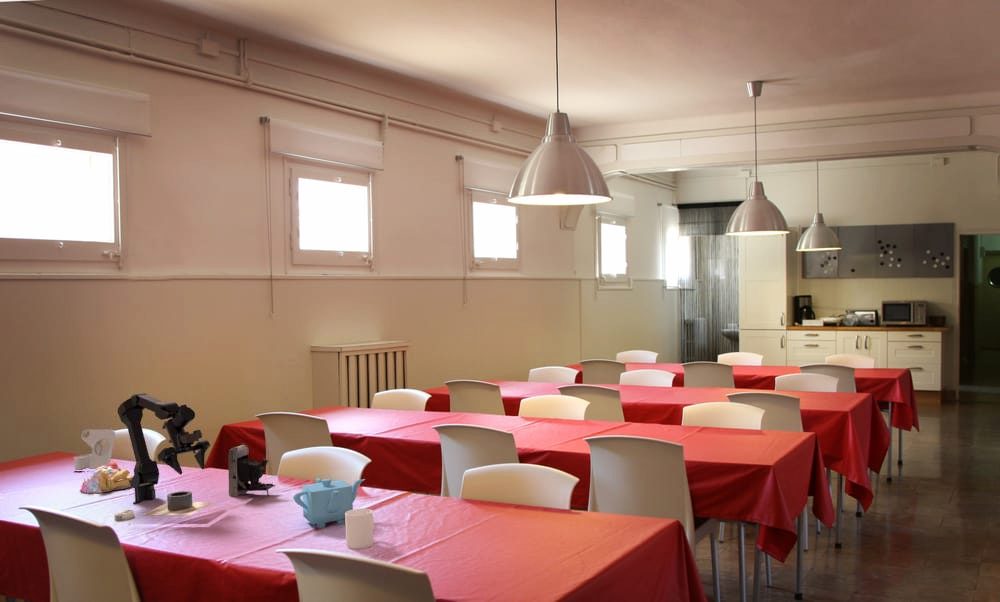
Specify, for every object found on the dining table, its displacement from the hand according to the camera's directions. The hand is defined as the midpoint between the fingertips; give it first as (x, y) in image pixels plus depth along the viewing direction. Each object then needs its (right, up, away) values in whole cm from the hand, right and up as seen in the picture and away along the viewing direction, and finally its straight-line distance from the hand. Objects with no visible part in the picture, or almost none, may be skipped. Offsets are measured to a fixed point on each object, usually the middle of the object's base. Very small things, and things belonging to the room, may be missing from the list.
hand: (192, 471), depth 305 cm
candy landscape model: (-53, -17, +48) cm, 73 cm away
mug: (+69, -13, -45) cm, 84 cm away
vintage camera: (+16, -14, +22) cm, 30 cm away
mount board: (-6, -15, +2) cm, 16 cm away
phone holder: (-76, -16, +84) cm, 115 cm away
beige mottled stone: (-21, -16, -8) cm, 28 cm away
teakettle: (+54, -14, -19) cm, 59 cm away
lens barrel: (-6, -14, +3) cm, 15 cm away
